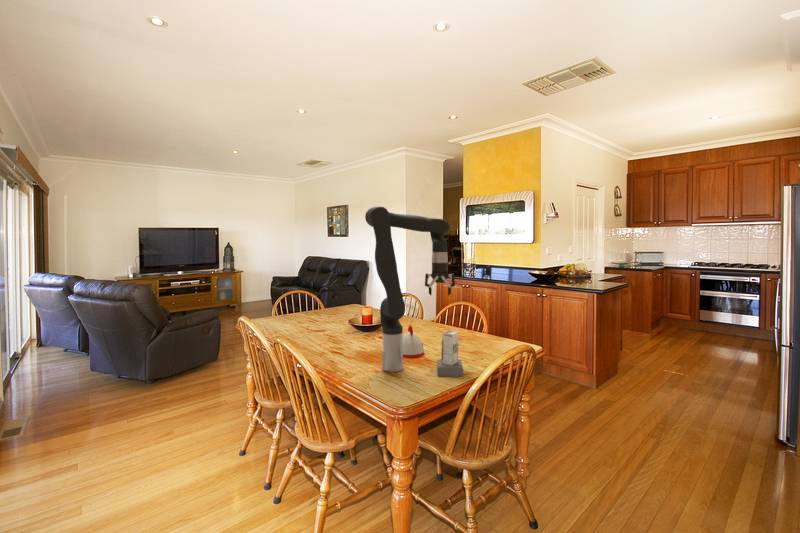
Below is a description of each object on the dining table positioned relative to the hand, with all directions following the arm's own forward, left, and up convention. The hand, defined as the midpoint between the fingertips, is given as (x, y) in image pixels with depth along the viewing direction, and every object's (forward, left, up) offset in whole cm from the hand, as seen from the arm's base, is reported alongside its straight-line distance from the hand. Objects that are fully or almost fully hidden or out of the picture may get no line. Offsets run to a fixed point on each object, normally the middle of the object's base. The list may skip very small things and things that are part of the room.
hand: (439, 295), depth 188 cm
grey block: (+4, -13, -33) cm, 36 cm away
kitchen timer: (-15, +13, -33) cm, 39 cm away
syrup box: (+4, -13, -29) cm, 32 cm away
